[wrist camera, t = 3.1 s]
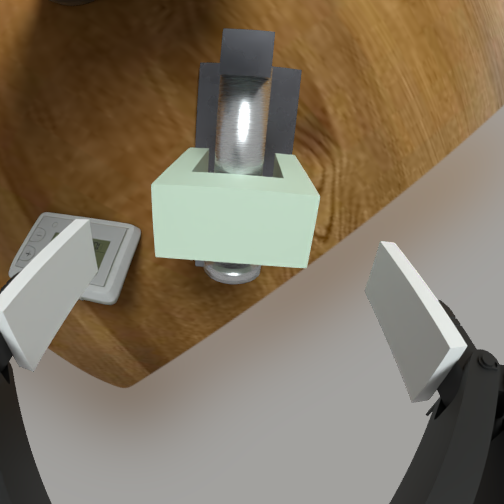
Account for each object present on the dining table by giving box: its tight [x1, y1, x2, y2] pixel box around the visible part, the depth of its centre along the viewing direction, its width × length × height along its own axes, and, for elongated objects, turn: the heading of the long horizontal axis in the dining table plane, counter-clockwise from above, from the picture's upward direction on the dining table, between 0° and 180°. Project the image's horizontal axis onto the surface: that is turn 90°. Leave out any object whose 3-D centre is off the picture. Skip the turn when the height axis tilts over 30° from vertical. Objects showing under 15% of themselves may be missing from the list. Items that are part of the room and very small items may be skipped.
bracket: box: [151, 148, 320, 268], centre depth 19 cm, size 8×4×10 cm, turn 85°
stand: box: [195, 29, 302, 284], centre depth 23 cm, size 10×14×18 cm
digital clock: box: [9, 212, 141, 305], centre depth 32 cm, size 16×9×11 cm, turn 69°
